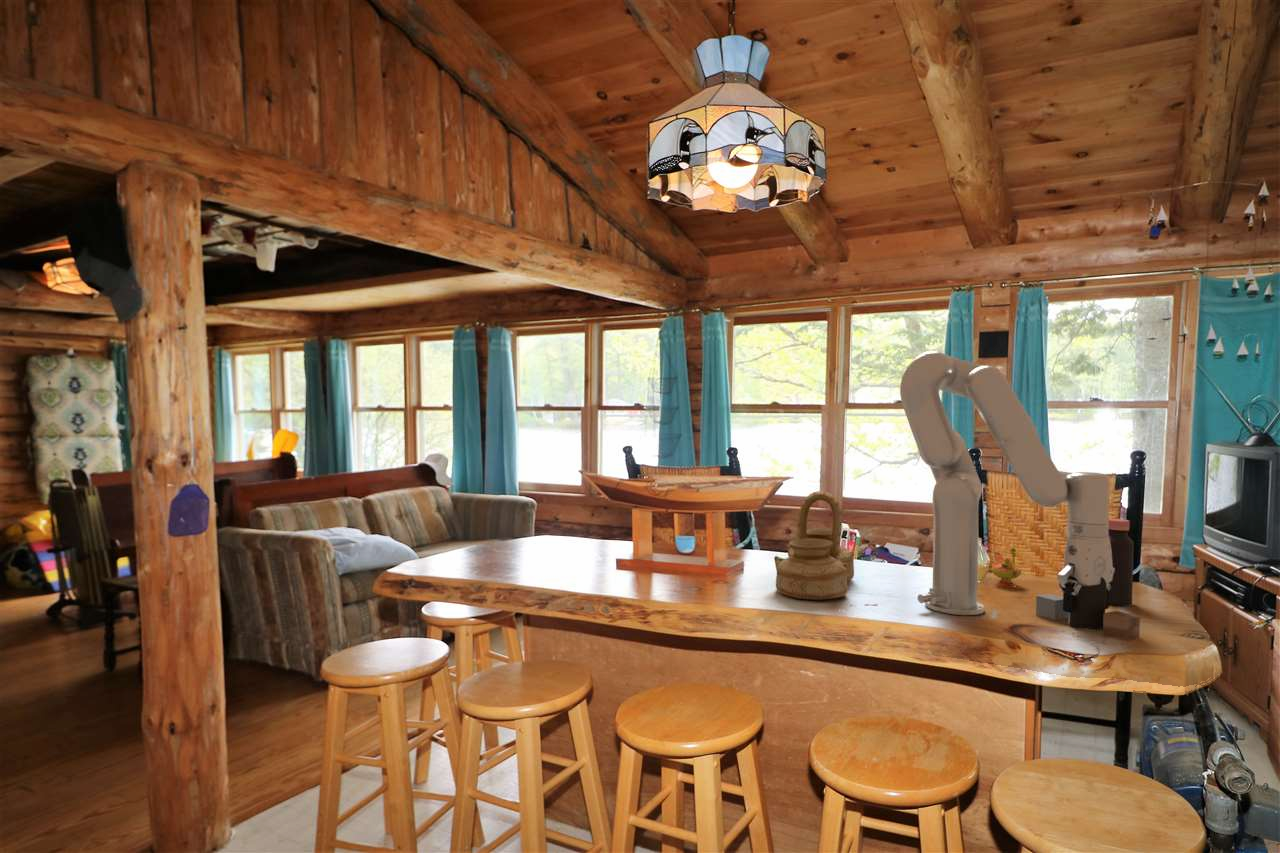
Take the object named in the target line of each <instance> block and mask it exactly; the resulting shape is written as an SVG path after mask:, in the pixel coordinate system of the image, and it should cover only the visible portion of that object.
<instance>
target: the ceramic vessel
mask: <svg viewBox="0 0 1280 853" xmlns="http://www.w3.org/2000/svg"><path fill="white" fill-rule="evenodd" d="M818 501H824V502H826V503H828V504H829V506H830V508H831V511H832V529H829V528H828V529H827V528H811V529H810V528H808V516H809V512H810V509H811V508H812V505H814V503H815V502H818ZM842 526H843V512H842V507H841V504H840V502H839V500H838V499H837V498H836V497H835V496H834V495H833V494H832V493H829V492H827V491H824V490H821V491H820V490H818V491H813V492H812V493H810V494H808V496H806V497H805V498H804V499H803V501H802V503H801V505H800V509H799V510H798V516H797V527H796V528H797V531H796V539H794V540H793V539H792V540H790V541H789V543H786V547H787V556H788V557H786V558H782V557H779V556H778V555H775V556H774V557H773V558H774V565H775V569H776V579H775V587H776V588H775V589H776V590H777V592H779V593H780V594H782V595H785V596H788V597H791V598H796V599H800V600H813V601H814V600H815V601H818V600H819V601H821V600H822V601H823V600H832V599H837V598H840V597H843V596H845V595H846V594H848V592H849V590H848V581H851V580H852V579H853V578H854V576H855V566H854V558H855V552H854V551H852V550H849V548H846V547H845V546H841V537H842Z"/></svg>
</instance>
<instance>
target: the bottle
mask: <svg viewBox="0 0 1280 853" xmlns="http://www.w3.org/2000/svg"><path fill="white" fill-rule="evenodd" d="M1128 533H1130V520H1128V519H1124V518H1123V519H1122V518H1113V517H1112V518H1111V517H1109V526H1108V537H1109V539H1110V544H1111V550H1112V565H1113V567H1114V568H1115V571H1114V574H1113V581H1112V582H1111V584H1110V586H1111V589H1110V590H1108V591H1109V606H1115V607H1117V606H1118V607H1129V606H1131V605H1132V604H1133V588H1134V587H1133V585H1134V584H1133V581H1134V577H1133V576H1134V548H1135V547H1134V544H1135V542H1134V541H1133V539H1131V538H1130V536H1128Z"/></svg>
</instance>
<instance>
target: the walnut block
mask: <svg viewBox="0 0 1280 853" xmlns="http://www.w3.org/2000/svg"><path fill="white" fill-rule="evenodd" d="M1140 626H1141V616H1139V615H1136V614H1131V613H1127V612H1123V611H1119V610H1115V611H1114V610H1113V611H1108V612H1105V613H1104V615H1103V629H1102V635H1104V636H1107V637H1110V638H1114V639H1117V640H1120V641H1124V642H1127V641H1131V640H1132V639H1133V640H1135V639H1136V638H1137V639H1140V632H1141V631H1140V630H1141V627H1140ZM1137 639H1136V640H1137Z"/></svg>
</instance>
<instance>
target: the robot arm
mask: <svg viewBox="0 0 1280 853" xmlns="http://www.w3.org/2000/svg"><path fill="white" fill-rule="evenodd" d="M899 386H900V388H899V390H900V391H899V392H900V393H899V394H900V400H901V404H902V408H903V410H904V413H905V416H906V418H907V422H908V425H909V429H910V431H911V433H912V435H913V439H914V441H915V444H916V447H917V450H918V452H919V456H920V459H921V460H922V461H923V462H924V463H925V464H926V465H927V466H929V468H930V470H931V473H932V475H933V479H934V480H935V484H934V487H933V491H932V514H933V516H932V517H933V526H932V527H933V532H932V534H933V536H932V540H933V543H932V544H933V546H932V548H933V549H932V550H933V551H932V552H933V553H932V587H929V591H928V592H927V593H921V594H918V595H917V601H918V603H920V604H923V603H924V605H925V607H926V608H928V609H930V610H932V611H935V612H938V613H943V614H949V615H956V616H976V615H980V614H983V613H984V612H985V605H984V604H982V603H981V602H978V580H979V579H978V577H979V576H978V574H979V573H978V572H979V570H978V569H979V506H980V505H979V504H980V499H981V497H982V493H983V492H982V491H983V486H982V482H981V480H980V477H979V475H978V472H977V470H976V467H975V465H974V462H973V459H972V456H971V455H970V452H969V450H968V447H967V445H966V443H965V442H966V441H965V440H964V439H963V437H962V435H960V433H958V431H957V430H954V429H953V426H952V424H951V421H950V420H949V417H948V414H947V411H946V409H945V406H944V403H943V402H942V400H941V399H942V398H941V397H940V396H941V395H940V391H942V392H945V393H949V394H953V395H955V396H959V397H962V398H965V399H969V400H970V401H971V402H972V404H973V406H974V407H975V409H976V411H977V412H978V413H979V415H980V417H981V419H982V420H983V422H984V425H985V426H986V427H987V429H988V431H989V433H990V434H991V436H992V437H993V440H994V441H995V443H996V445H997V447H998V448H999V449H1000V450H1001V453H1003V455H1004V457H1005V458H1006V460H1007V462H1008V464H1009V465H1010V467H1011V469H1012V471H1013V472H1014V474H1015V476H1016V477H1017V479H1018V481H1019V483H1020V484H1021V486H1022V487H1023V489H1024V491H1025V492H1026V494H1027V496H1028V497H1029V499H1030V500H1031V501H1032V502H1033V503H1035V505H1037V506H1040V507H1043V508H1054V507H1057V506H1058V505H1060V504H1062V503H1066V504H1067V510H1066V511H1067V516H1066V520H1067V522H1066V536H1067V537H1066V541H1065V546H1064V547H1065V548H1064V556H1063V569H1062V570H1060V572H1058V573H1057V579H1058V584H1059V585H1058V586H1059V587H1060V589H1061V593H1062V594H1063V596H1062V597H1063V610H1064V611H1065V612H1069V613H1073V614H1079V599H1080V596H1079V595H1077V594H1078V592H1079V590H1080V588H1081V586H1082V585H1083V586H1086V587H1089V586H1096V585H1099V584H1100V582H1101V577H1103V578H1104V579H1105V580H1106V609H1105V610H1107V609H1109V608H1110V607H1109V606H1110V605H1109V591H1108V590H1110V589H1111V586H1110V584H1111V582H1112V581H1113V574H1114V571H1115V568H1114V567H1113V565H1112V550H1111V544H1110V539H1109V537H1108V526H1109V518H1110V516H1109V515H1110V514H1109V513H1110V479H1109V477H1108V476H1107V475H1106V474H1105V473H1099V472H1091V471H1078V472H1077V471H1076V472H1069V471H1061V470H1058V468H1057V467H1056V464H1054V461H1053V460H1052V458H1051V457H1050V455H1049V454H1048V452H1047V450H1046V448H1045V446H1044V444H1043V443H1042V441H1041V439H1040V437H1039V434H1038V431H1037V429H1036V426H1035V424H1034V422H1033V420H1032V418H1031V417H1030V415H1029V414H1028V412H1027V410H1026V409H1025V407H1024V406H1023V404H1022V402H1021V401H1020V399H1019V397H1018V396H1017V395H1016V393H1015V391H1014V389H1013V388H1012V386H1011V385H1010V382H1009V381H1008V380H1007V377H1006V376H1005V374H1004V373H1003V372H1002V371H1001V369H999V368H998V367H996V366H994V365H993V366H992V365H982V364H978V363H974V362H971V361H967V360H963V359H960V358H957V357H954V356H950V355H947V354H946V353H944V352H941V351H936V350H931V351H930V350H929V351H925V352H923V353H921V354H919V355H918V356H917V357H915V358H914V359H913V360H912V361H911V362H910V363H909V364H908V366H907V367H906V369H905V370H904V372H903V374H902V377H901V381H900V385H899ZM1072 577H1074V578H1075V579H1076V580H1077V581H1076V580H1072ZM1071 584H1073V585H1075V586H1074V588H1073V587H1072V586H1071Z"/></svg>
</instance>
